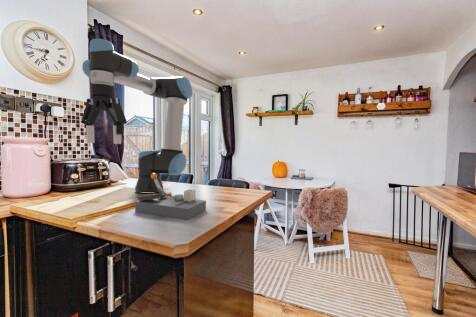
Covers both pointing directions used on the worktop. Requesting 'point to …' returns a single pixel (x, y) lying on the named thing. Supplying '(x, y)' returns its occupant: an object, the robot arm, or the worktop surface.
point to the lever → (158, 185)
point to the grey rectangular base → (171, 207)
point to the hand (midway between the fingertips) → (103, 143)
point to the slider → (189, 195)
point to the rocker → (149, 196)
